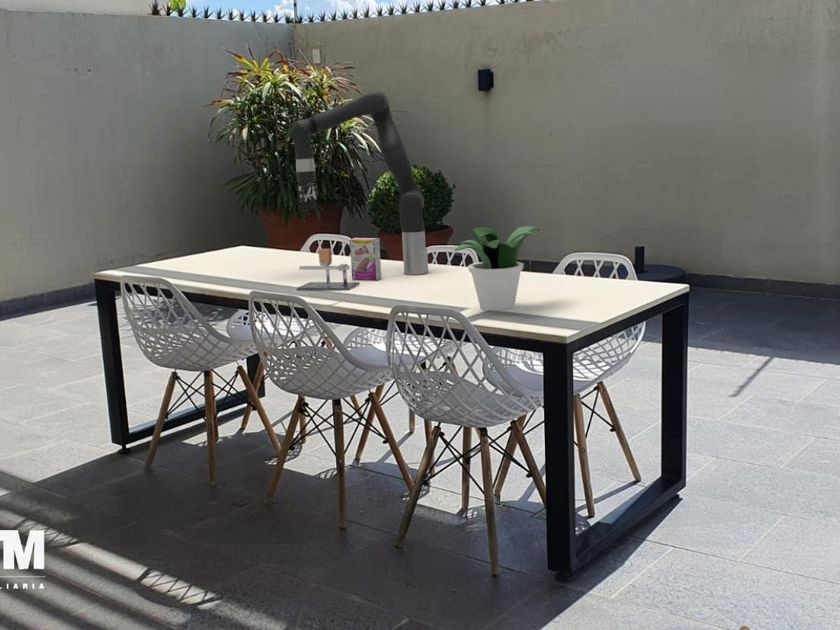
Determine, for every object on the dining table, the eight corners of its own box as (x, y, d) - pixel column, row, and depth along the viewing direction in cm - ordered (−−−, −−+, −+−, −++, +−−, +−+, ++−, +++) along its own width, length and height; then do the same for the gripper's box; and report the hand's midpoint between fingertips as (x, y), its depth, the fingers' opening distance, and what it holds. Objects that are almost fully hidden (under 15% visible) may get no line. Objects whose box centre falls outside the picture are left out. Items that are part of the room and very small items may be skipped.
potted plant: (573, 303, 322) (572, 226, 317) (491, 321, 303) (488, 239, 298) (510, 292, 348) (508, 220, 343) (431, 307, 328) (427, 231, 323)
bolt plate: (359, 284, 380) (358, 261, 378) (348, 290, 369) (346, 266, 367) (309, 284, 386) (308, 262, 384) (297, 290, 375) (295, 267, 373)
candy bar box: (351, 280, 392) (348, 239, 388) (357, 278, 396) (354, 237, 393) (376, 280, 387) (373, 239, 384) (382, 278, 391) (379, 237, 388)
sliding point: (333, 283, 377) (331, 248, 374) (330, 284, 374) (327, 249, 371) (324, 283, 378) (321, 248, 376) (320, 284, 375) (318, 250, 372)
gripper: (306, 171, 390) (310, 211, 393) (321, 168, 403) (324, 208, 406) (289, 171, 392) (293, 212, 395) (304, 169, 405) (308, 208, 408)
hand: (309, 210), depth 401 cm, fingers open, 8 cm apart
